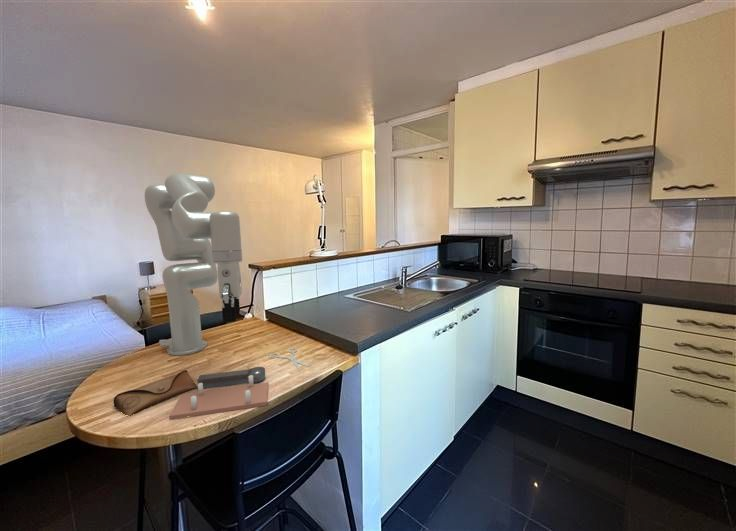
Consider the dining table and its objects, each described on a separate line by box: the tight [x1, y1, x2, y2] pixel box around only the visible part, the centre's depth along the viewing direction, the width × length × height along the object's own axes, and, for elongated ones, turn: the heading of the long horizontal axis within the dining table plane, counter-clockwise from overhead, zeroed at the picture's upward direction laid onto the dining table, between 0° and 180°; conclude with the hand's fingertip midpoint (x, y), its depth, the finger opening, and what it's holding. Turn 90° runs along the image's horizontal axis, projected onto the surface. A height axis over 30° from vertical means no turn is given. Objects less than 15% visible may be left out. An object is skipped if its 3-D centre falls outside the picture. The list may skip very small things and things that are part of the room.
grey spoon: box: [196, 366, 266, 390], centre depth 90 cm, size 18×5×3 cm, turn 105°
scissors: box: [264, 347, 311, 372], centre depth 105 cm, size 11×1×20 cm
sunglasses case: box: [113, 369, 198, 417], centre depth 83 cm, size 18×7×7 cm, turn 145°
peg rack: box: [168, 375, 269, 420], centre depth 81 cm, size 22×10×4 cm, turn 105°
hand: (232, 316), depth 88 cm, fingers open, 9 cm apart
